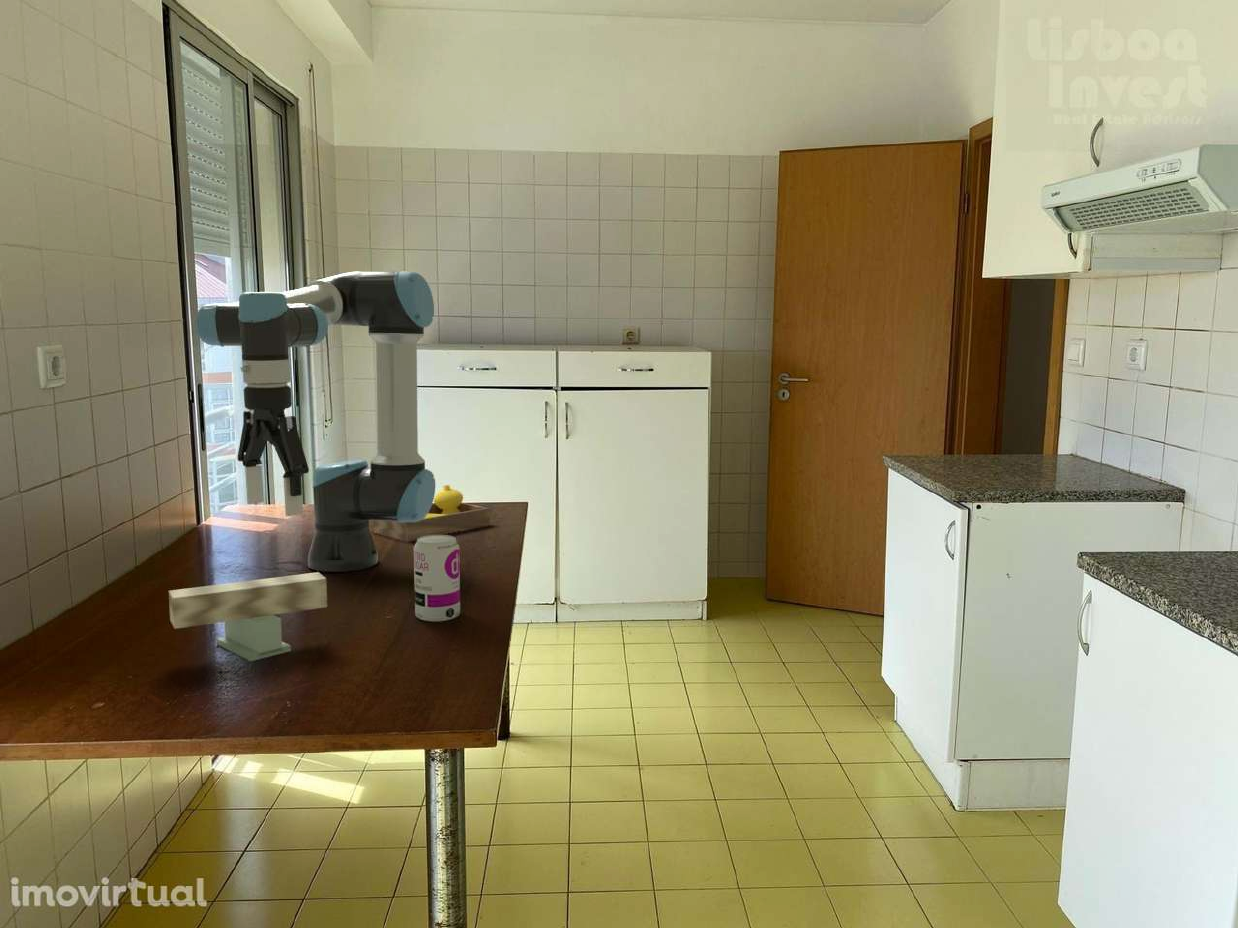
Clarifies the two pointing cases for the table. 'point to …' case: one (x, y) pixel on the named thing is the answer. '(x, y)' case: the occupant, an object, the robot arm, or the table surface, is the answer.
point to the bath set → (447, 501)
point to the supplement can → (437, 578)
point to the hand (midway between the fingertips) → (274, 508)
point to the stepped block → (254, 637)
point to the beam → (246, 599)
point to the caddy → (435, 523)
